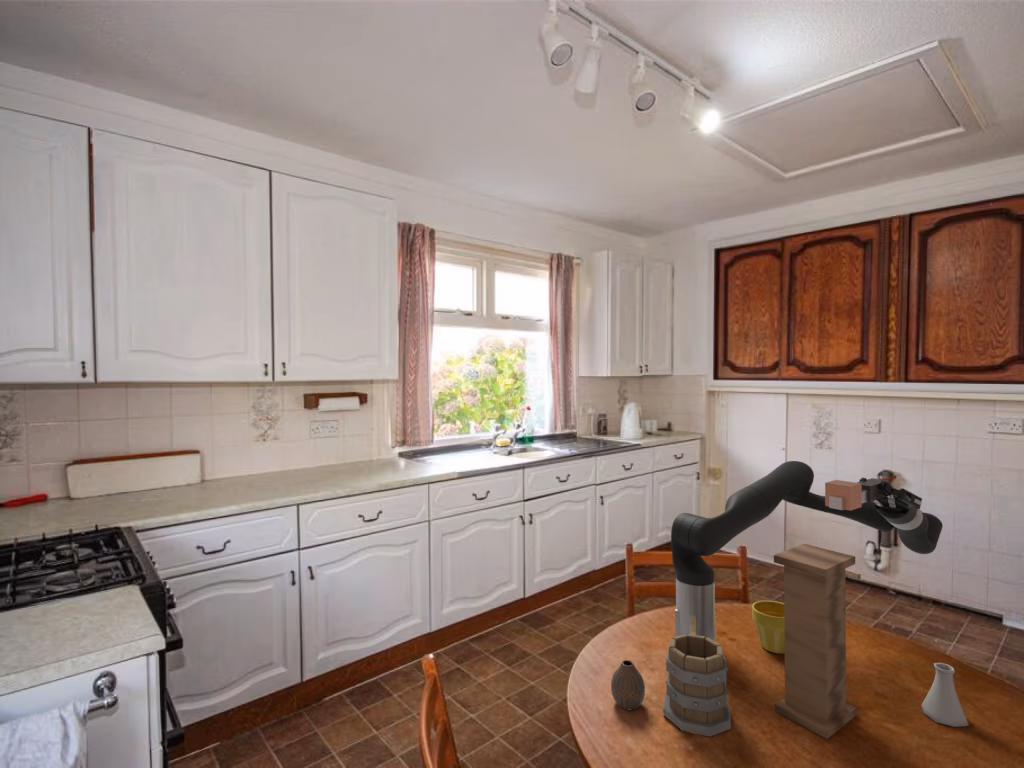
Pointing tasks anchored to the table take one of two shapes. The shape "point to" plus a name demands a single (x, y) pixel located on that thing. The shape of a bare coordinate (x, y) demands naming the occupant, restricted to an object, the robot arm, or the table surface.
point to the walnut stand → (815, 638)
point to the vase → (627, 686)
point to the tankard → (696, 684)
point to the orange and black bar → (852, 493)
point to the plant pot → (770, 625)
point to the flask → (944, 699)
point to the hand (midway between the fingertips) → (872, 482)
